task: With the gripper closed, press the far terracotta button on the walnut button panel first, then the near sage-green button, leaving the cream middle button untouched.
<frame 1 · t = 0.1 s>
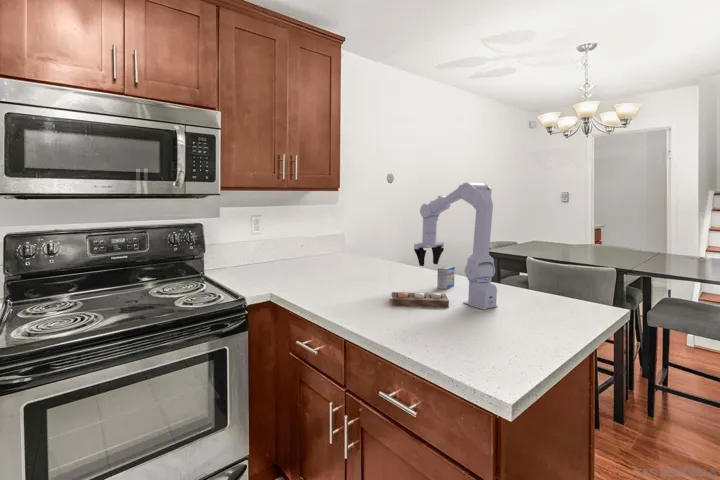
hand: (428, 264, 165), 10 cm above the worktop, tool pointing down, fingers open, 7 cm apart
button panel: (419, 302, 144), on the worktop
cream button: (419, 296, 144), point 2 cm above the worktop, slide at 0.0 cm
terracotta button: (402, 296, 145), point 2 cm above the worktop, slide at 0.0 cm
medicine box: (445, 287, 169), on the worktop
sage button: (435, 297, 144), point 2 cm above the worktop, slide at 0.0 cm
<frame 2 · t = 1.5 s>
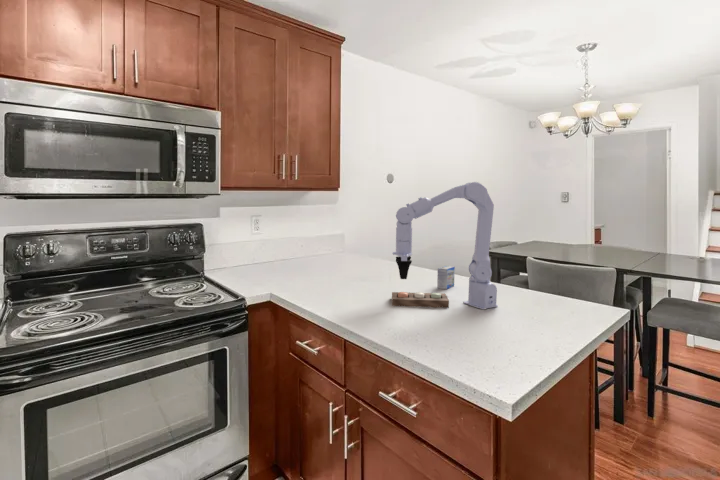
hand: (403, 277, 144), 9 cm above the worktop, tool pointing down, fingers open, 5 cm apart
nothing on the worktop moved.
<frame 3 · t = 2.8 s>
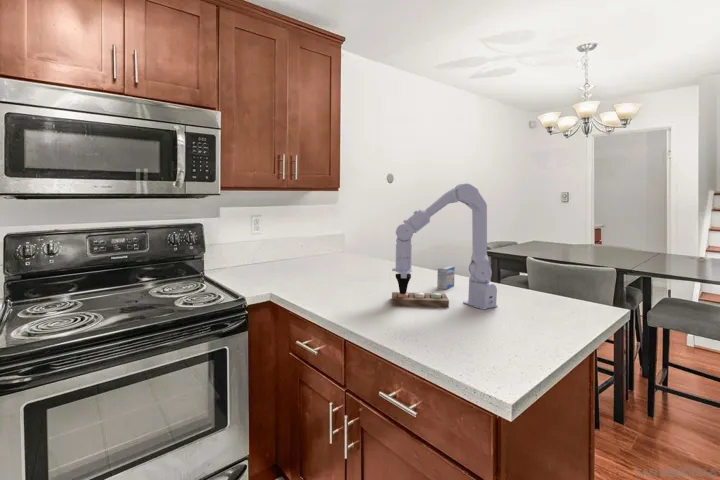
hand: (402, 293, 145), 3 cm above the worktop, tool pointing down, fingers closed, pressing on terracotta button
terracotta button: (402, 296, 145), point 2 cm above the worktop, slide at 0.1 cm, touching gripper
everything else where it was.
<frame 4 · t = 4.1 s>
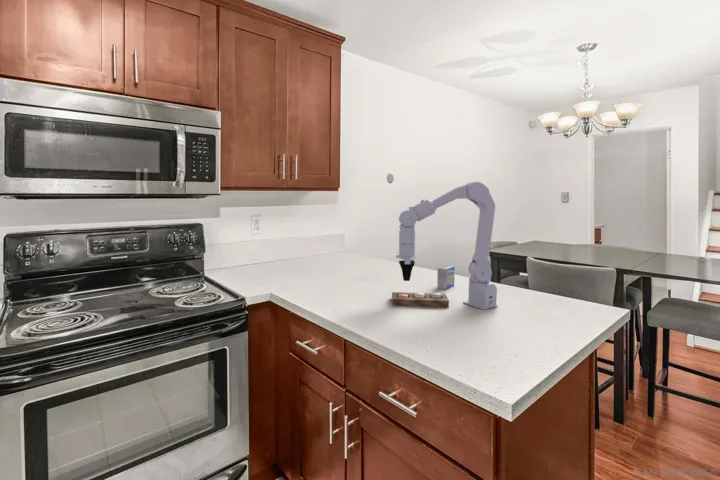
hand: (406, 280, 144), 8 cm above the worktop, tool pointing down, fingers closed
terracotta button: (402, 298, 145), point 2 cm above the worktop, slide at 0.7 cm
everything else where it was.
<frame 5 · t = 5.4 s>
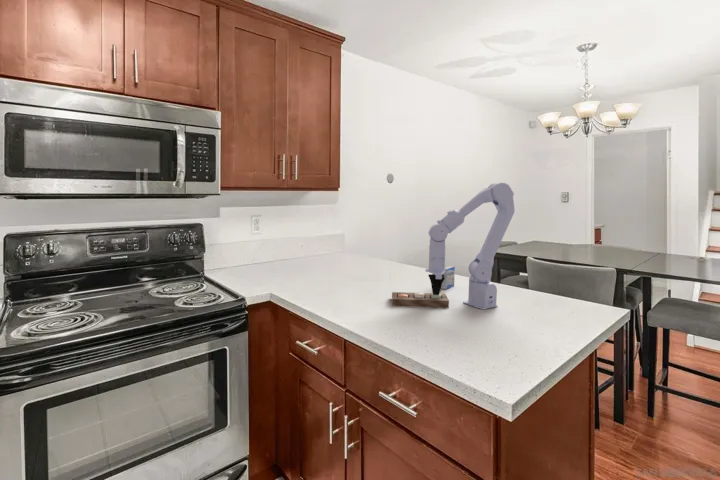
hand: (435, 294, 144), 3 cm above the worktop, tool pointing down, fingers closed, pressing on sage button
sage button: (435, 297, 144), point 2 cm above the worktop, slide at 0.1 cm, touching gripper
everything else where it was.
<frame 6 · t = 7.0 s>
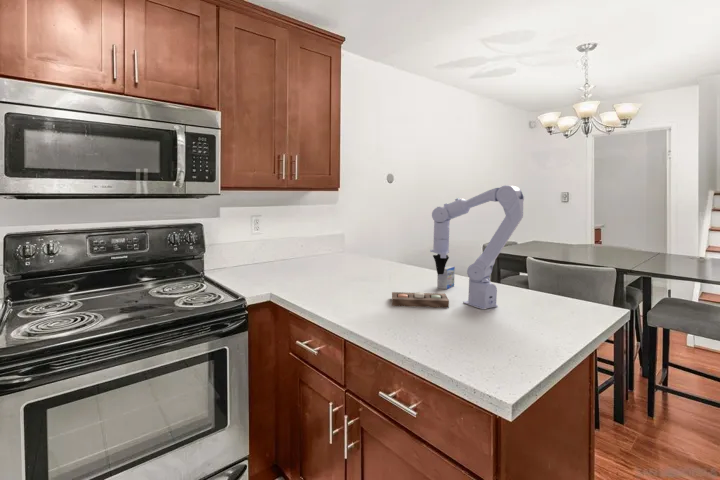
hand: (440, 274, 150), 9 cm above the worktop, tool pointing down, fingers closed
sage button: (435, 299, 144), point 2 cm above the worktop, slide at 0.7 cm
everything else where it was.
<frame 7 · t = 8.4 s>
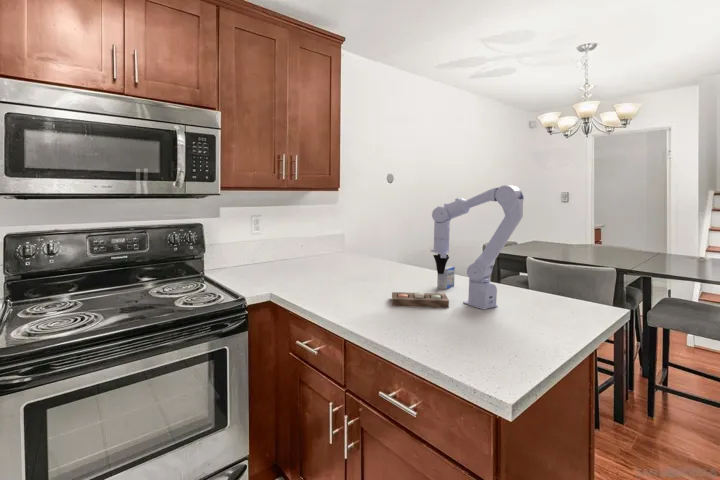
hand: (440, 273, 151), 9 cm above the worktop, tool pointing down, fingers closed
nothing on the worktop moved.
at the end: terracotta button slide at 0.7 cm; sage button slide at 0.7 cm; cream button slide at 0.0 cm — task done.
